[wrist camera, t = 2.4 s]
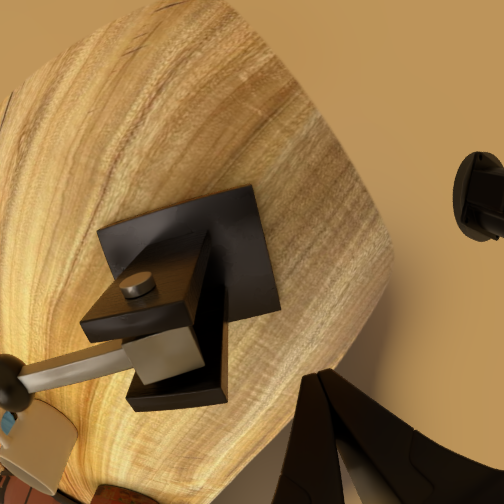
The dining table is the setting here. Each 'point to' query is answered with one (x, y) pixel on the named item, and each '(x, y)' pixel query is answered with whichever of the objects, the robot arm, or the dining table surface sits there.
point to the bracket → (185, 287)
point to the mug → (38, 446)
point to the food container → (119, 496)
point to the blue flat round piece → (7, 422)
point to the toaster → (25, 492)
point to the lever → (100, 365)
